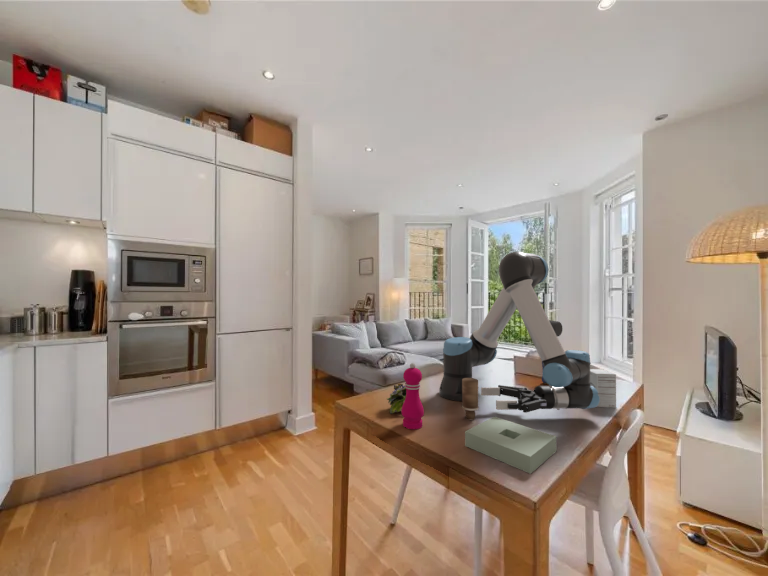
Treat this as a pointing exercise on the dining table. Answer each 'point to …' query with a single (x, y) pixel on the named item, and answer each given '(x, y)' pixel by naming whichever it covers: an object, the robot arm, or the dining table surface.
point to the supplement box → (604, 386)
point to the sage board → (511, 443)
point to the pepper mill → (412, 399)
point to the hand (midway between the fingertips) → (488, 397)
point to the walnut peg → (470, 397)
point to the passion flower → (397, 398)
